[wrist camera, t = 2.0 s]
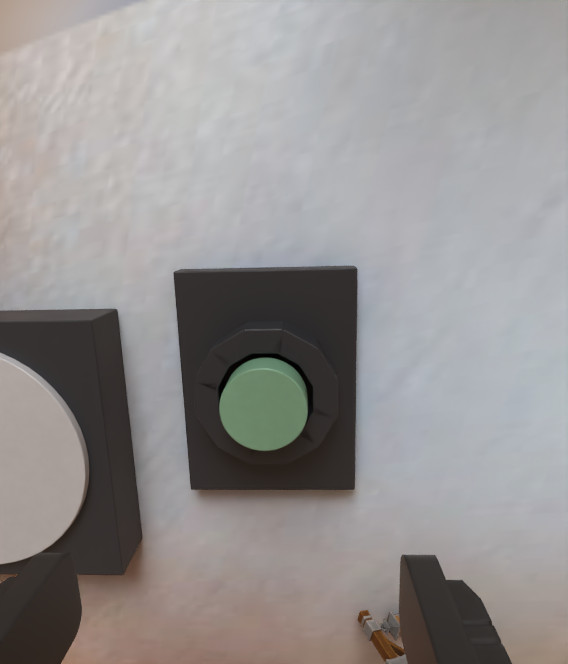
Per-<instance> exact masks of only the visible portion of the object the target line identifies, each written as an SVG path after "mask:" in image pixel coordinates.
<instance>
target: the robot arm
mask: <svg viewBox="0 0 568 664" xmlns="http://www.w3.org/2000/svg"><path fill="white" fill-rule="evenodd" d="M81 614H82V606H81V599H80V592H79V586H78V579H77V573H76V566H75V560H74V557H73V555H72V554H71V553H37V554H36V555H34V556H33V557H32V558H31V559H30V561H29V562H28V563H27V564H26V565H25V567H24V568H23V569H22V570H21V572H20V573H19V574H18V575H17V576H16V577H9V578H8V579H6V580H5V581H3V582H2V583H1V584H0V664H61V662H62V660H63V659H64V657H65V655H66V653H67V651H68V650H69V648H70V646H71V644H72V642H73V641H74V639H75V637H76V634H77V632H78V629H79V625H80V621H81ZM399 621H400V631H401V637H402V642H403V647H404V651H405V655H406V659H407V663H408V664H512V663H511V661H510V658H509V656H508V654H507V652H506V650H505V648H504V646H503V645H501V640H500V638H499V636H498V634H497V631H496V629H495V627H494V626H492V621H491V619H490V617H489V615H488V613H487V611H486V609H485V607H484V604H483V602H482V600H481V599H480V598H479V597H478V596H477V595H476V594H475V593H474V592H473V591H472V590H471V589H470V588H469V587H468V586H467V585H466V584H465V583H464V581H463V580H446V579H445V576H444V574H443V572H442V569H441V567H440V564H439V562H438V559H437V558H436V556H435V555H402V556H401V563H400V594H399Z"/></svg>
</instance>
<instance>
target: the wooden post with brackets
mask: <svg viewBox="0 0 568 664" xmlns="http://www.w3.org/2000/svg"><path fill="white" fill-rule="evenodd" d="M358 621H359V622H360V624H361V626H362V627H363V628H364V629H363V632H364V633H365V635H366V636H367V638H368V640H369V641H372V642H373V644H374V646H375V647H376V649H377V650H378V652H379V653H380V655H381V657H382V658H383V660H384V661H385V664H408V663H407V659H406V655H405V651H404V649H402V648H401V647H399V646H397V645H396V644H394V643H392V642H391V641H389V640H388V639H387V638H386V637H385V636H384V635H383V634H382V632H381V630H382V631H385V633H386V634H387V635H388V632H389V633H391V634H392V636H393V637H394V639H395V640H397V638H398V635H401V631H400V621H399V614H396V615H394V614H393V613H392V611H390V613H389V616H388V619H387V622H386V620H385V619H384V621H383V624H382V623H381V624H380V625H379V624H378V623H377V621H376V620H375V619H372V616H371V615H370V614H369V612H368V610H365V611H360V613H359V617H358ZM382 628H383V629H382ZM501 645H503V644H502V643H501ZM504 648H505V647H504ZM396 654H397V655H399V656H401V657H398V656H397V655H396Z"/></svg>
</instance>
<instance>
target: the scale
mask: <svg viewBox="0 0 568 664" xmlns="http://www.w3.org/2000/svg"><path fill="white" fill-rule="evenodd" d="M141 539H142V532H141V523H140V514H139V505H138V496H137V487H136V478H135V469H134V460H133V451H132V442H131V433H130V424H129V415H128V406H127V397H126V388H125V379H124V370H123V360H122V351H121V342H120V333H119V324H118V315H117V309H79V310H21V311H0V574H19V573H20V572H21V570H22V569H23V568H24V567H25V565H26V564H27V563H28V562H29V561H30V559H31V558H32V557H33V556H34V555H36V554H37V553H71V554H72V555H73V557H74V560H75V566H76V573H77V575H123V574H124V572H125V570H126V568H127V566H128V565H129V563H130V561H131V559H132V557H133V555H134V553H135V551H136V549H137V547H138V545H139V543H140V541H141Z"/></svg>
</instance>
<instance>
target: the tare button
mask: <svg viewBox="0 0 568 664" xmlns="http://www.w3.org/2000/svg"><path fill="white" fill-rule="evenodd" d="M219 413H220V418H221V421H222V424H223V426H224V428H225V430H226V431H227V432H228V434H229V435H230V436H231V437H232V438H233V439H234V440H235V441H236V442H238V443H239V444H241V445H243V446H245V447H247V448H250V449H253V450H258V451H271V450H276V449H279V448H282V447H284V446H286V445H288V444H290V443H291V442H292V441H294V440H295V439H296V438H297V437H298V436H299V434H300V433H301V432H302V430H303V428H304V426H305V423H306V420H307V415H308V397H307V389H306V386H305V383H304V381H303V379H302V377H301V376H300V374H299V373H298V372H297V371H296V370H295V369H294V368H293V367H292V366H290V365H289V364H287V363H286V362H283V361H281V360H278V359H274V358H256V359H253V360H250V361H247V362H245V363H244V364H242V365H241V366H239V367H238V368H237V369H236V370H235V371H234V372H233V373H232V375H231V376H230V378H229V380H228V382H227V384H226V386H225V388H224V390H223V393H222V395H221V398H220V404H219Z"/></svg>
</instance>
